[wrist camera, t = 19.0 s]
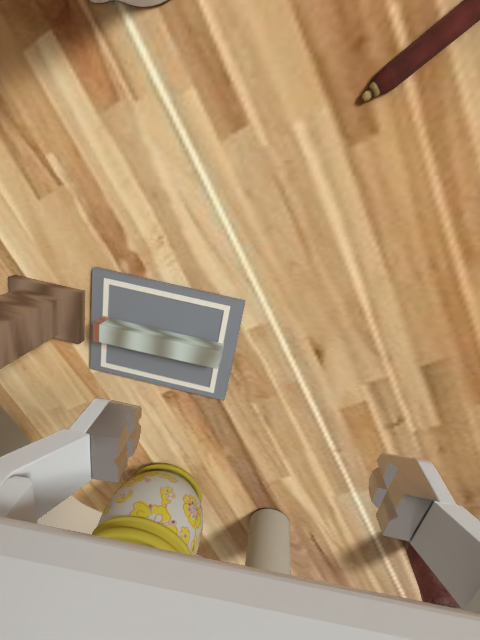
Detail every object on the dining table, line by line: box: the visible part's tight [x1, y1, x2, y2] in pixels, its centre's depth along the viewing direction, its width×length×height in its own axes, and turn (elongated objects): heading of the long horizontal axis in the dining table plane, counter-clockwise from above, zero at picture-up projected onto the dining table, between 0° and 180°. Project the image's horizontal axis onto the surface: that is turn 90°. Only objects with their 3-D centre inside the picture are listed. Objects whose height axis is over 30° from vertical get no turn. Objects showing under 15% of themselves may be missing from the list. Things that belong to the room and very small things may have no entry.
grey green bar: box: [93, 316, 224, 369], centre depth 50 cm, size 20×3×3 cm, turn 80°
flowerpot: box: [92, 463, 203, 556], centre depth 57 cm, size 18×18×16 cm
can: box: [403, 540, 463, 610], centre depth 54 cm, size 6×6×14 cm
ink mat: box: [90, 267, 245, 401], centre depth 52 cm, size 24×18×1 cm
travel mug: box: [245, 509, 291, 575], centre depth 56 cm, size 8×8×18 cm
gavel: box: [362, 0, 480, 101], centre depth 34 cm, size 21×5×10 cm
